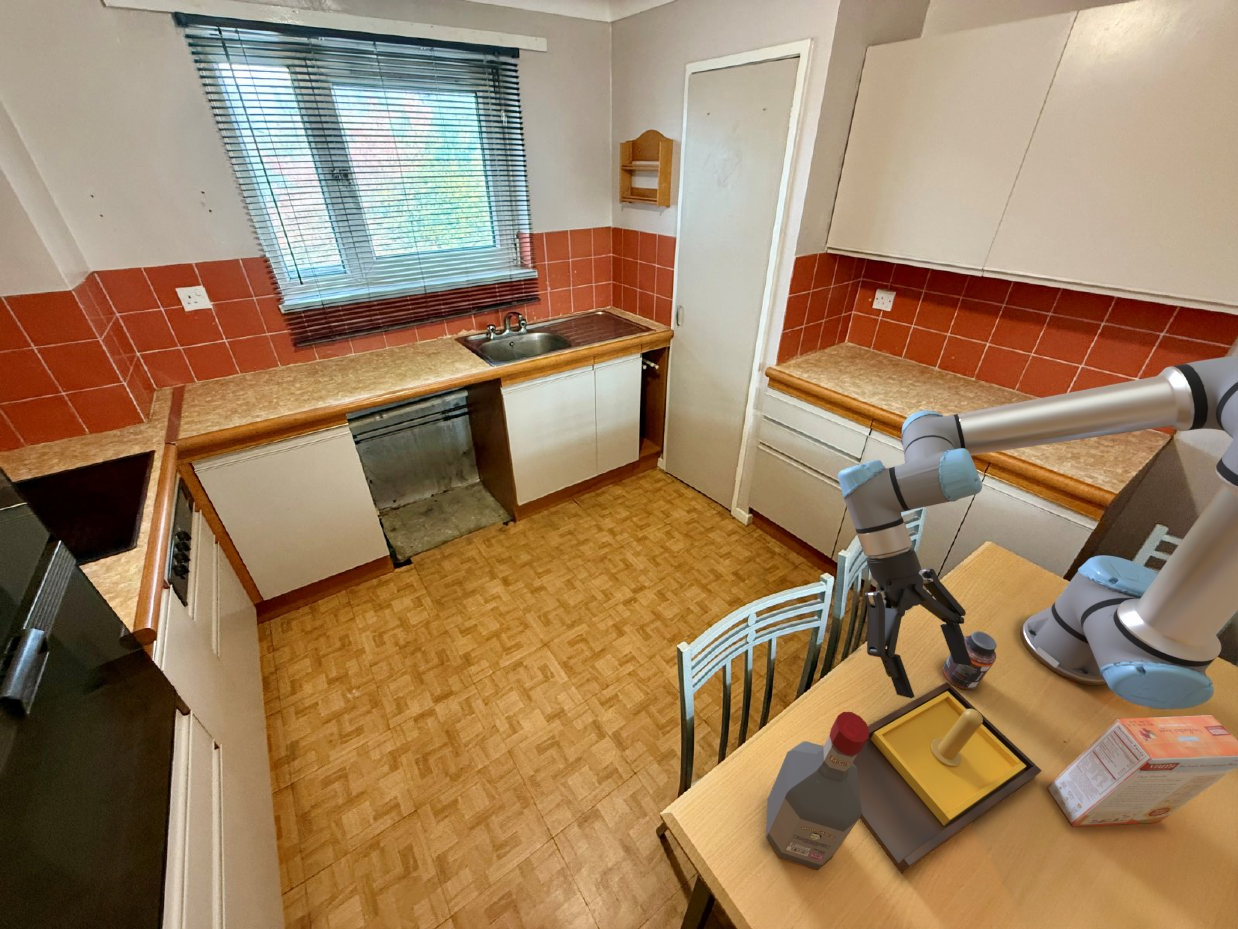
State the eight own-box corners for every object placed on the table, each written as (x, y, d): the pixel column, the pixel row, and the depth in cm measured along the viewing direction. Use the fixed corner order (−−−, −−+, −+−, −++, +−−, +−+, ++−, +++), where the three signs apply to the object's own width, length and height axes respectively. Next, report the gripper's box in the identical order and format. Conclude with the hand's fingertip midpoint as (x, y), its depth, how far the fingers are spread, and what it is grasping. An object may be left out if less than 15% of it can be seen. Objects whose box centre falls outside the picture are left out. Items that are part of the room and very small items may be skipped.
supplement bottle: (980, 695, 94) (1007, 659, 88) (944, 685, 96) (969, 649, 89) (973, 668, 99) (998, 631, 92) (939, 659, 100) (962, 622, 94)
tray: (942, 697, 92) (972, 654, 84) (1019, 773, 82) (1061, 731, 74) (870, 739, 86) (895, 696, 78) (944, 826, 75) (981, 786, 68)
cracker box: (1125, 782, 82) (1214, 712, 70) (1159, 825, 77) (1260, 758, 65) (1042, 784, 82) (1116, 715, 70) (1070, 828, 77) (1156, 761, 65)
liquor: (830, 877, 71) (902, 779, 54) (764, 855, 73) (813, 754, 56) (826, 807, 78) (888, 701, 61) (766, 789, 80) (810, 681, 63)
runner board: (940, 691, 95) (947, 681, 93) (1032, 779, 82) (1042, 770, 80) (817, 760, 84) (822, 751, 82) (901, 874, 72) (909, 866, 70)
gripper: (921, 533, 92) (964, 648, 90) (816, 575, 83) (861, 704, 81) (959, 529, 85) (1007, 654, 83) (849, 575, 76) (899, 716, 74)
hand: (935, 679), depth 82 cm, fingers open, 13 cm apart
